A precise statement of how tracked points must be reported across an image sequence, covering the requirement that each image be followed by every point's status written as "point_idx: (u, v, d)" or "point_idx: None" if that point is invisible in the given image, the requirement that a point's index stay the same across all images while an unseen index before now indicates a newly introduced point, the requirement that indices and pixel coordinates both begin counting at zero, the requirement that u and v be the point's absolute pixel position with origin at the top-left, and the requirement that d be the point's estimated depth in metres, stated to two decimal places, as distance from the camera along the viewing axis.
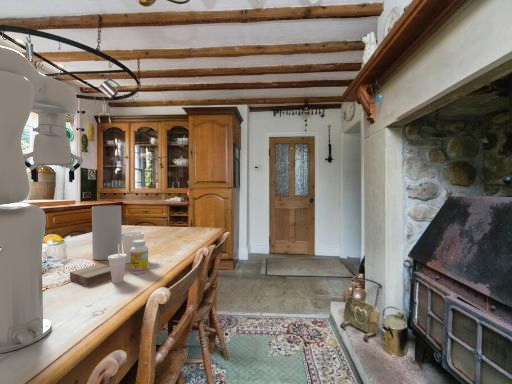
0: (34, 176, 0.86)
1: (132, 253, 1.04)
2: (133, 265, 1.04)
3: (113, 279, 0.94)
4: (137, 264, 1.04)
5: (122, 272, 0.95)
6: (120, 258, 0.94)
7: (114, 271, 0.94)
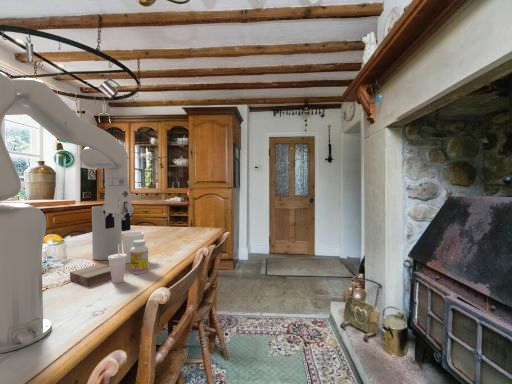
0: None
1: (132, 253, 1.04)
2: (133, 265, 1.04)
3: (113, 279, 0.94)
4: (137, 264, 1.04)
5: (122, 272, 0.95)
6: (120, 258, 0.94)
7: (114, 271, 0.94)
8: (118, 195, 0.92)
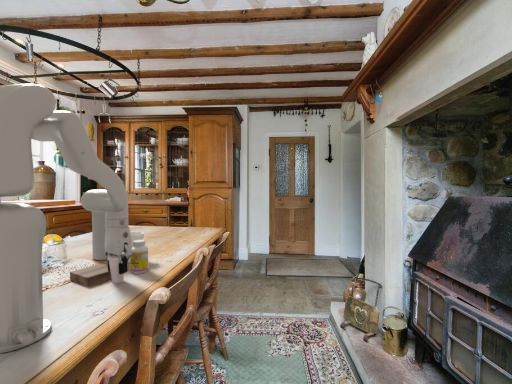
0: None
1: (132, 253, 1.04)
2: (133, 265, 1.04)
3: (113, 279, 0.94)
4: (137, 264, 1.04)
5: None
6: None
7: (114, 271, 0.94)
8: (118, 237, 0.92)
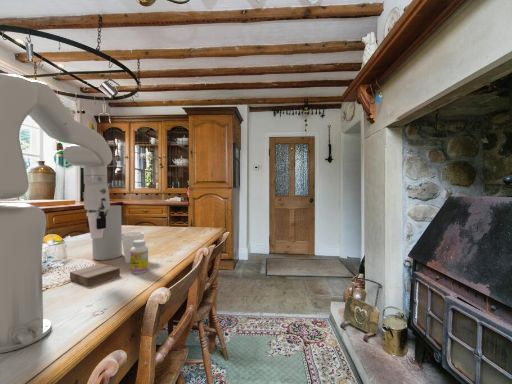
0: None
1: (132, 253, 1.04)
2: (133, 265, 1.04)
3: (92, 234, 0.97)
4: (137, 264, 1.04)
5: None
6: None
7: (92, 226, 0.97)
8: (95, 192, 0.95)
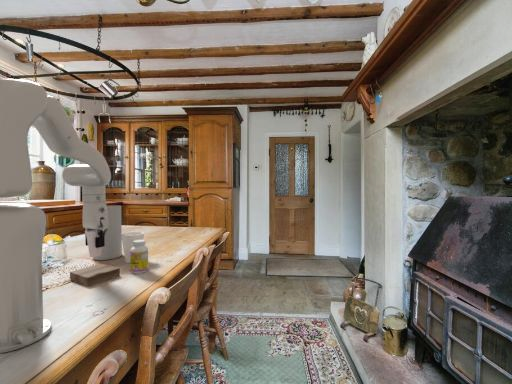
0: None
1: (132, 253, 1.04)
2: (133, 265, 1.04)
3: (90, 253, 0.98)
4: (137, 264, 1.04)
5: None
6: None
7: (91, 244, 0.97)
8: (94, 211, 0.95)
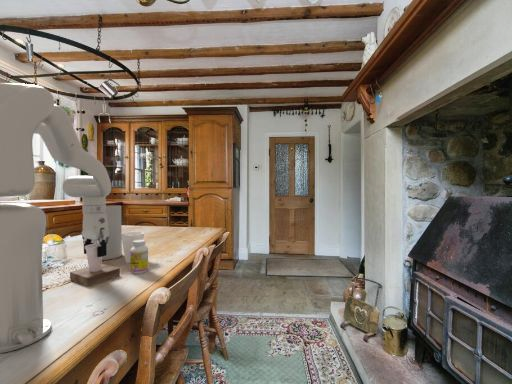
0: None
1: (132, 253, 1.04)
2: (133, 265, 1.04)
3: (90, 268, 0.98)
4: (137, 264, 1.04)
5: (99, 261, 0.99)
6: None
7: (91, 260, 0.97)
8: (94, 222, 0.95)
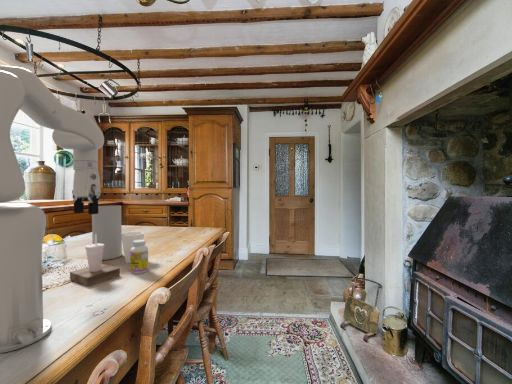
0: None
1: (132, 253, 1.04)
2: (133, 265, 1.04)
3: (90, 268, 0.98)
4: (137, 264, 1.04)
5: (99, 261, 0.99)
6: (97, 247, 0.97)
7: (91, 260, 0.97)
8: (85, 177, 0.91)
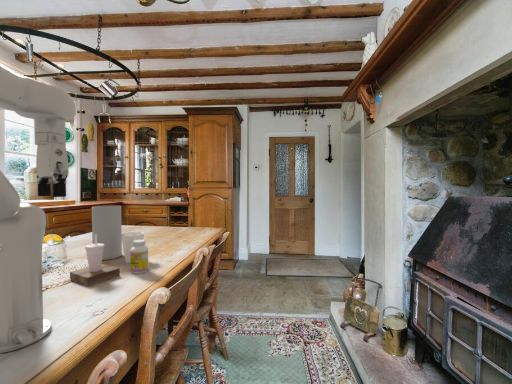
0: None
1: (132, 253, 1.04)
2: (133, 265, 1.04)
3: (90, 268, 0.98)
4: (137, 264, 1.04)
5: (99, 261, 0.99)
6: (97, 247, 0.97)
7: (91, 260, 0.97)
8: (48, 153, 0.76)
